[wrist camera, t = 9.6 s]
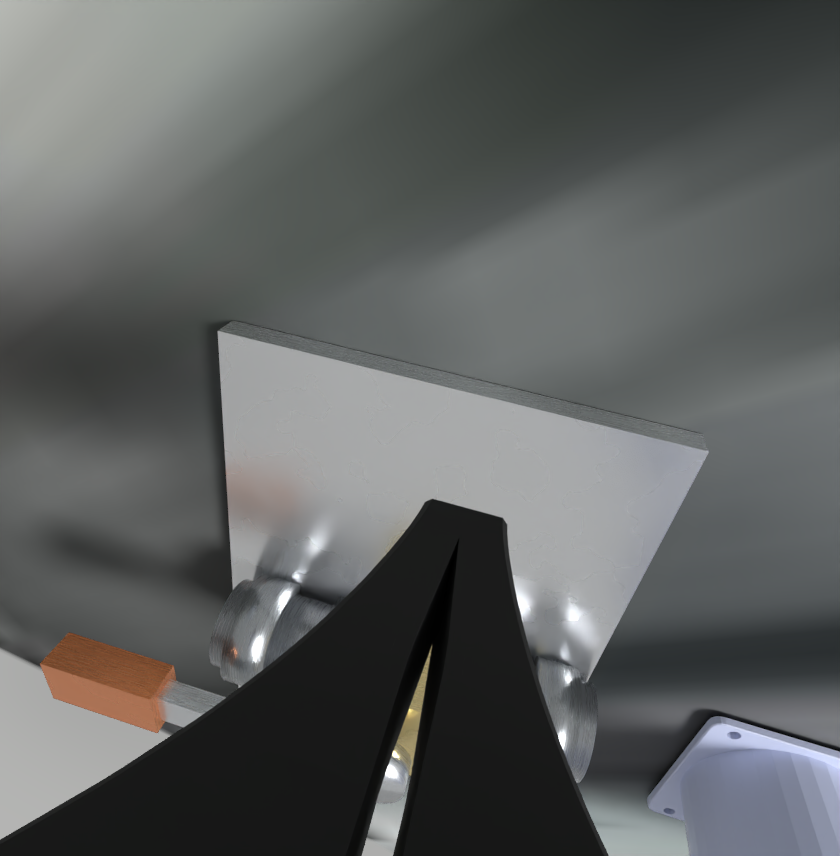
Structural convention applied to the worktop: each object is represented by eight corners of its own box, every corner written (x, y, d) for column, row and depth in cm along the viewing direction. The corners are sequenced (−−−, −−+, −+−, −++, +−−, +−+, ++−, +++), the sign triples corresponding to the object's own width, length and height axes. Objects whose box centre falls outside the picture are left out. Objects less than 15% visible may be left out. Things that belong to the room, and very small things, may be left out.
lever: (417, 740, 19) (406, 781, 18) (408, 776, 21) (398, 817, 20) (68, 628, 21) (38, 660, 20) (81, 669, 23) (54, 701, 22)
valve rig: (702, 434, 18) (750, 565, 13) (528, 775, 30) (518, 909, 25) (233, 320, 19) (119, 397, 15) (248, 684, 31) (188, 792, 27)
